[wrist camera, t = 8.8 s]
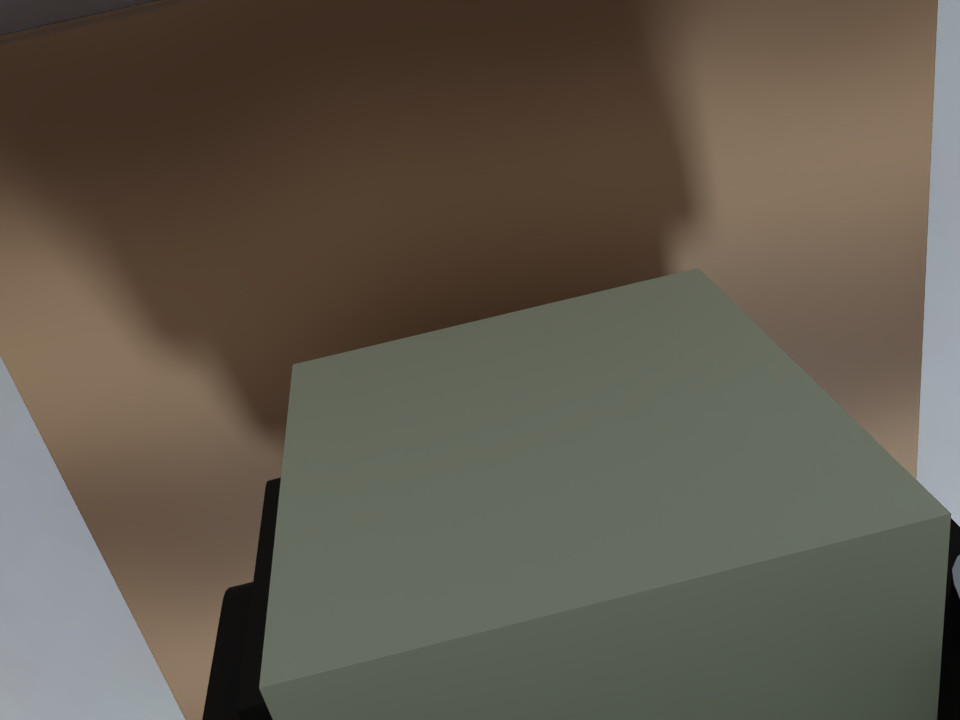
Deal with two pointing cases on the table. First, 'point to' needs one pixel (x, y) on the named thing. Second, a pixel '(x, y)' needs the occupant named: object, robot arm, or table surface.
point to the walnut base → (423, 222)
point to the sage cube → (596, 528)
